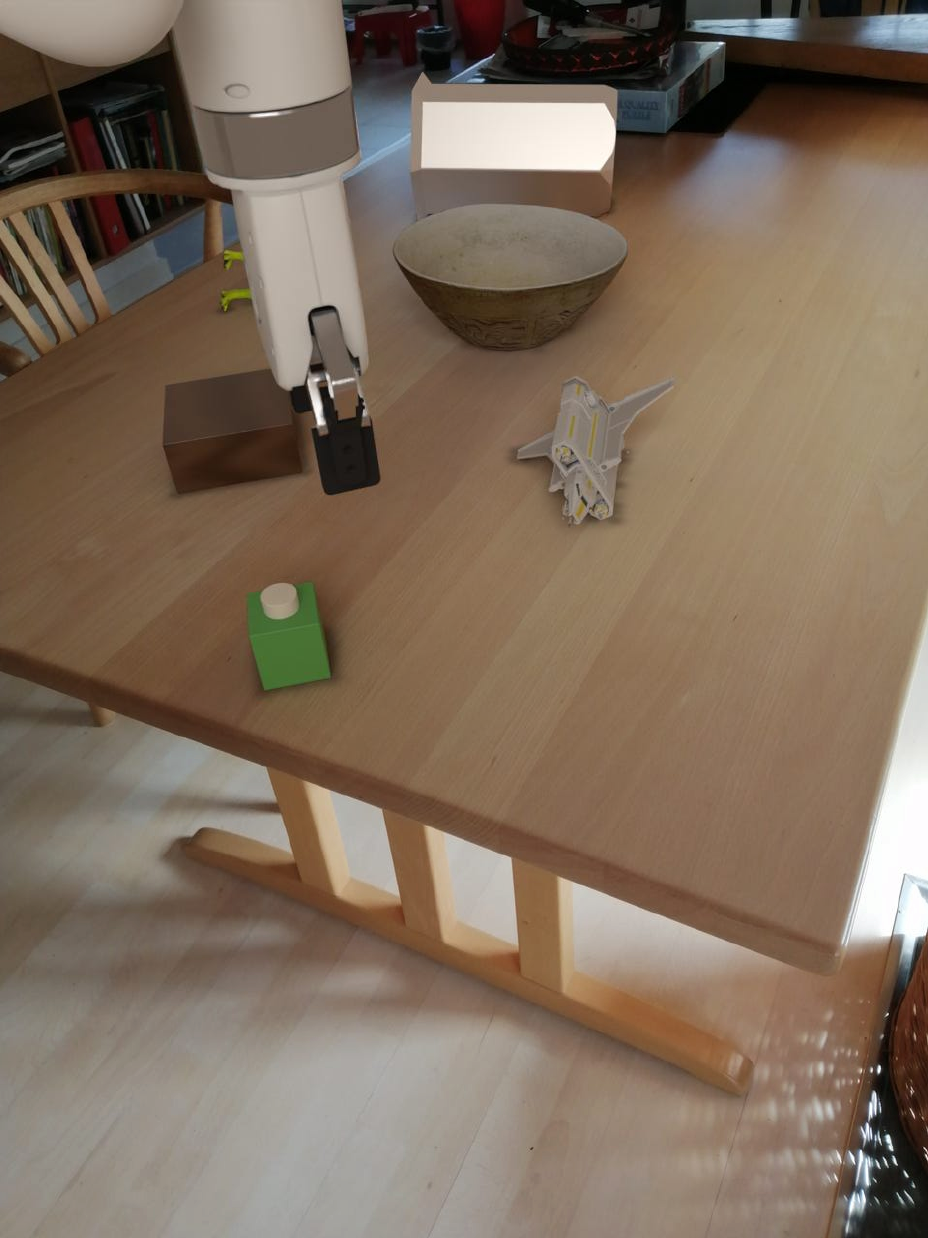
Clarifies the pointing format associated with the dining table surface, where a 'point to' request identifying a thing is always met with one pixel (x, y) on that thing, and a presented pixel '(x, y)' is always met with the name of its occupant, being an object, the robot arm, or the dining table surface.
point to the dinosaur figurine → (235, 293)
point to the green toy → (287, 635)
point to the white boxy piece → (512, 146)
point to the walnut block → (229, 431)
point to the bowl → (509, 270)
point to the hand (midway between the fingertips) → (334, 444)
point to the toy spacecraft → (590, 445)
